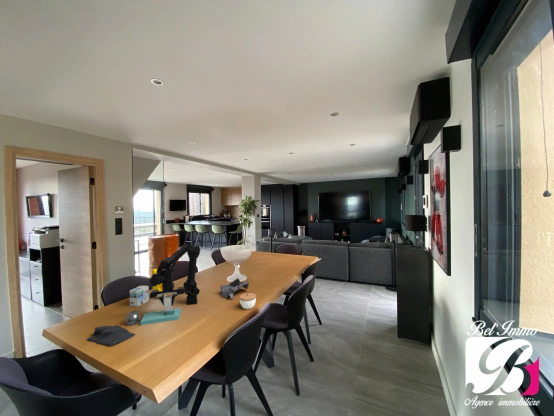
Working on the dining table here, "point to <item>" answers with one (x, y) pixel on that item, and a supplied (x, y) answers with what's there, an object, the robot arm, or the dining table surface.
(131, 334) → the dark slate chunk
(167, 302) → the square bit
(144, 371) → the dining table surface
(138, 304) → the light bulb box
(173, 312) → the bore block
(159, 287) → the figure statuette
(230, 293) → the dark grey angular piece
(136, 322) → the round bit
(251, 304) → the lidded jar
